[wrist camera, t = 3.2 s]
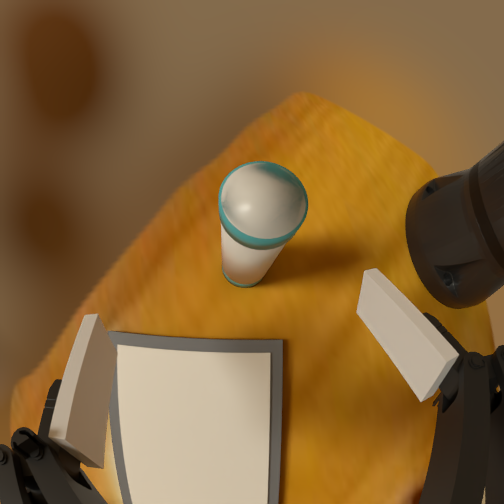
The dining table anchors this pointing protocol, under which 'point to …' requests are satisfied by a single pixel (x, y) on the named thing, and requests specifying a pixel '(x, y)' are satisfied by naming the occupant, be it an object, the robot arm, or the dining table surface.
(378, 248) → the dining table surface
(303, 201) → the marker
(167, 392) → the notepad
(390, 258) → the dining table surface
